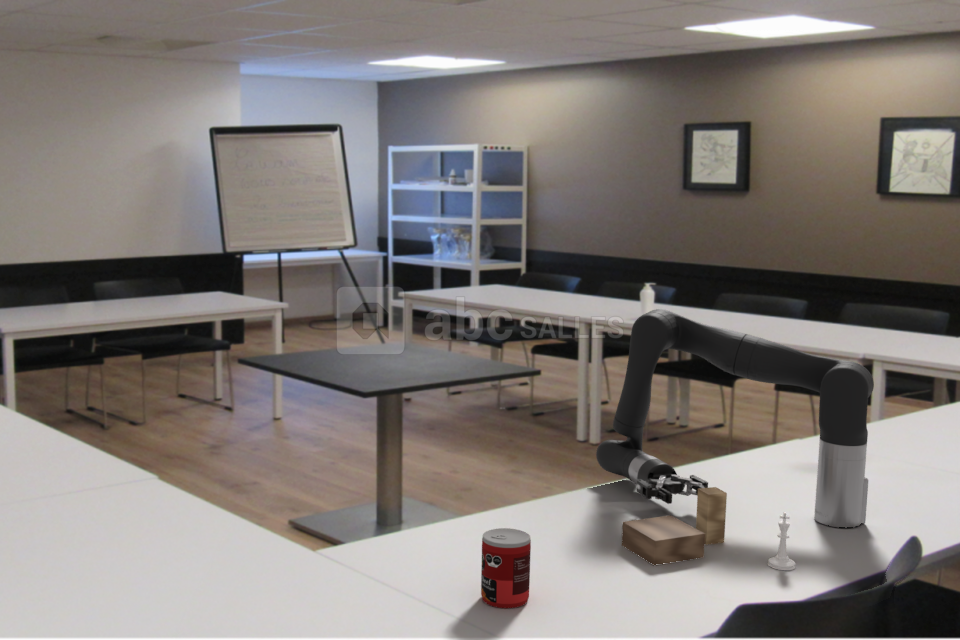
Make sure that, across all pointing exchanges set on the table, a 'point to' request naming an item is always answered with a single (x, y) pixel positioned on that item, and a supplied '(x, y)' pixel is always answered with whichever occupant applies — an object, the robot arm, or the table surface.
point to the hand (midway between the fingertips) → (689, 497)
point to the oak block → (711, 514)
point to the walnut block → (663, 539)
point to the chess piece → (782, 548)
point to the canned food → (505, 567)
